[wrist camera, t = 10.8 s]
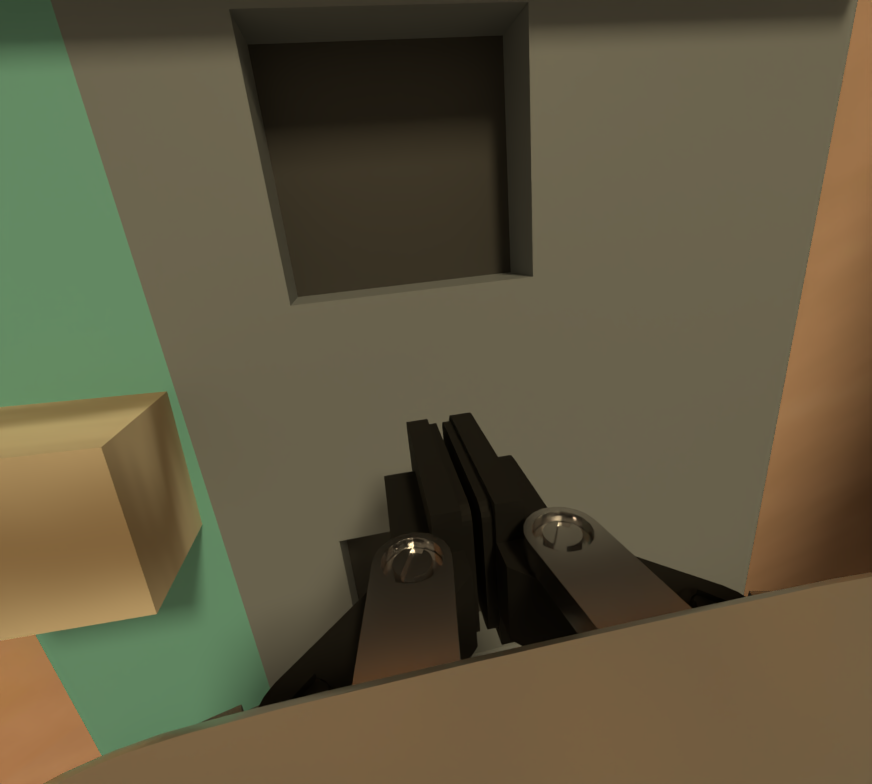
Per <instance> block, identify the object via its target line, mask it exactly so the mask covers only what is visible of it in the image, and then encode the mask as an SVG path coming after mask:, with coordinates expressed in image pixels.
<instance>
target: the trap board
mask: <svg viewBox="0 0 872 784" xmlns="http://www.w3.org/2000/svg"><path fill="white" fill-rule="evenodd" d="M857 2H858V0H0V407H6V406H17V405H28V404H38V403H49V402H59V401H70V400H81V399H91V398H102V397H112V396H123V395H134V394H144V393H155V392H165V391H167V393H168V396H169V400H170V404H171V408H172V411H173V415H174V419H175V423H176V427H177V430H178V434H179V438H180V442H181V446H182V449H183V453H184V457H185V461H186V464H187V468H188V472H189V476H190V480H191V483H192V487H193V491H194V495H195V498H196V502H197V506H198V510H199V514H200V517H201V521H202V526H201V528H200V530H199V532H198V534H197V536H196V538H195V540H194V542H193V544H192V546H191V548H190V550H189V552H188V554H187V556H186V558H185V560H184V562H183V563H182V565H181V567H180V569H179V571H178V573H177V575H176V577H175V579H174V581H173V583H172V585H171V587H170V589H169V591H168V593H167V595H166V597H165V599H164V601H163V603H162V605H161V607H160V609H159V611H158V613H157V614H154V615H148V616H143V617H137V618H131V619H125V620H119V621H113V622H107V623H101V624H95V625H90V626H84V627H78V628H72V629H66V630H60V631H54V632H48V633H42V634H37V635H36V637H37V639H38V640H39V642H40V644H41V646H42V648H43V650H44V651H45V653H46V655H47V657H48V659H49V660H50V662H51V664H52V666H53V668H54V670H55V671H56V673H57V675H58V677H59V679H60V680H61V682H62V684H63V686H64V688H65V690H66V691H67V693H68V695H69V697H70V699H71V700H72V702H73V704H74V706H75V708H76V710H77V711H78V713H79V715H80V717H81V719H82V721H83V722H84V724H85V726H86V728H87V730H88V731H89V733H90V735H91V737H92V739H93V741H94V742H95V744H96V746H97V748H98V750H99V751H100V753H101V755H102V756H103V755H105V754H107V753H110V752H112V751H114V750H117V749H120V748H123V747H125V746H128V745H131V744H134V743H137V742H139V741H142V740H145V739H148V738H151V737H153V736H156V735H159V734H162V733H165V732H169V731H172V730H176V729H180V728H183V727H187V726H191V725H194V724H197V723H200V722H202V721H204V720H207V719H209V718H211V717H213V716H216V715H218V714H220V713H223V712H225V711H227V710H229V709H232V708H234V707H236V706H239V705H241V704H242V707H243V710H244V711H246V710H249V709H251V708H254V707H256V706H258V705H260V703H261V701H262V699H263V697H264V696H265V694H266V693H267V692H268V691H269V689H270V688H271V687H272V686H273V685H274V683H275V682H276V681H277V680H278V679H279V678H280V677H281V676H282V675H283V674H284V673H285V672H286V671H287V670H288V669H289V668H291V667H292V666H293V665H294V664H295V663H296V662H297V661H298V660H299V659H300V658H301V657H302V656H303V655H304V654H305V653H306V652H307V651H308V650H309V649H310V648H311V647H312V646H313V645H314V644H315V643H316V642H317V641H318V640H319V639H320V638H321V637H322V636H323V635H324V634H325V633H326V632H327V631H328V630H329V629H330V628H331V627H332V626H333V625H334V624H335V623H336V622H337V621H338V620H339V619H340V618H341V617H342V616H343V615H344V614H345V613H346V612H347V611H348V610H349V609H350V608H351V607H352V606H353V605H354V604H355V603H356V602H357V601H358V600H359V599H361V598H362V597H363V596H364V595H365V594H366V593H367V590H368V584H369V577H370V571H371V565H372V561H373V558H374V556H375V553H376V552H377V551H378V550H379V548H380V547H381V546H382V545H383V544H385V543H386V542H388V541H389V540H390V539H391V536H390V527H389V518H388V509H387V499H386V490H385V481H384V476H387V475H393V474H399V473H405V472H411V471H412V466H411V458H410V450H409V442H408V434H407V426H406V422H410V421H417V420H423V419H427V420H428V422H429V424H433V423H436V424H437V426H438V428H439V431H440V433H441V436H442V438H443V431H442V422H446V421H449V416H450V415H456V414H462V413H469V412H470V413H471V414H472V415H473V417H474V419H475V420H476V422H477V423H478V425H479V427H480V428H481V430H482V432H483V433H484V435H485V436H486V438H487V440H488V441H489V443H490V445H491V446H492V448H493V449H494V451H495V453H496V454H497V456H498V457H500V456H506V455H512V457H513V458H514V459H515V460H516V462H517V463H518V465H519V466H520V468H521V469H522V471H523V472H524V474H525V475H526V477H527V478H528V479H529V481H530V482H531V484H532V485H533V487H534V488H535V490H536V491H537V493H538V494H539V496H540V497H541V499H542V500H543V502H544V503H545V504H546V506H547V507H548V508H549V507H567V508H572V509H576V510H579V511H581V512H584V513H586V514H588V515H589V516H591V517H592V518H593V519H595V520H596V521H597V522H598V523H599V524H601V525H602V526H603V527H604V528H605V529H606V530H607V531H608V532H609V533H610V534H611V535H613V536H614V537H615V538H616V539H617V540H618V541H619V542H620V543H621V544H622V545H623V546H625V547H626V548H627V549H628V550H629V551H630V552H631V553H632V554H633V555H634V556H636V557H639V558H642V559H645V560H648V561H651V562H654V563H657V564H660V565H663V566H666V567H669V568H672V569H675V570H678V571H681V572H684V573H687V574H690V575H693V576H696V577H699V578H702V579H705V580H709V581H712V582H715V583H718V584H721V585H723V586H726V587H728V588H730V589H733V590H735V591H737V592H739V593H741V594H742V595H744V590H745V585H746V580H747V575H748V569H749V564H750V559H751V554H752V549H753V543H754V538H755V533H756V528H757V522H758V517H759V512H760V507H761V502H762V496H763V491H764V486H765V481H766V476H767V470H768V465H769V460H770V455H771V450H772V444H773V439H774V434H775V429H776V424H777V418H778V413H779V408H780V403H781V397H782V392H783V387H784V382H785V377H786V371H787V366H788V361H789V356H790V351H791V345H792V340H793V335H794V330H795V325H796V319H797V314H798V309H799V304H800V299H801V293H802V288H803V283H804V278H805V272H806V267H807V262H808V257H809V252H810V246H811V241H812V236H813V231H814V226H815V220H816V215H817V210H818V205H819V200H820V194H821V189H822V184H823V179H824V174H825V168H826V163H827V158H828V153H829V147H830V142H831V137H832V132H833V127H834V121H835V116H836V111H837V106H838V101H839V95H840V90H841V85H842V80H843V75H844V69H845V64H846V59H847V54H848V49H849V43H850V38H851V33H852V28H853V22H854V17H855V12H856V7H857ZM478 605H479V603H478ZM479 619H480V631H479V632H477V643H478V647H477V649H476V650H475V652H474V653H473V655H472V656H471V658H472V657H476V656H481V655H485V654H490V653H494V652H499V651H503V650H508V649H512V648H516V647H521V645H519V644H517V643H515V642H513V643H508V644H504V645H501V642H500V639H499V636H498V633H497V630H496V628H493V629H487V627H486V625H485V622H484V619H483V616H482V613H481V610H480V607H479Z"/></svg>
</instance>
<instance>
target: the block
mask: <svg viewBox="0 0 872 784" xmlns="http://www.w3.org/2000/svg"><path fill="white" fill-rule="evenodd" d="M201 526H202V521H201V517H200V514H199V510H198V506H197V502H196V498H195V495H194V491H193V487H192V483H191V480H190V476H189V472H188V468H187V464H186V461H185V457H184V453H183V449H182V446H181V442H180V438H179V434H178V430H177V427H176V423H175V419H174V415H173V411H172V408H171V404H170V400H169V396H168V393H167V391H165V392H155V393H144V394H134V395H123V396H112V397H102V398H91V399H81V400H70V401H59V402H49V403H38V404H28V405H17V406H6V407H0V641H1V640H7V639H13V638H19V637H25V636H31V635H37V634H42V633H48V632H54V631H60V630H66V629H72V628H78V627H84V626H90V625H95V624H101V623H107V622H113V621H119V620H125V619H131V618H137V617H143V616H148V615H154V614H157V613H158V611H159V609H160V607H161V605H162V603H163V601H164V599H165V597H166V595H167V593H168V591H169V589H170V587H171V585H172V583H173V581H174V579H175V577H176V575H177V573H178V571H179V569H180V567H181V565H182V563H183V562H184V560H185V558H186V556H187V554H188V552H189V550H190V548H191V546H192V544H193V542H194V540H195V538H196V536H197V534H198V532H199V530H200V528H201Z"/></svg>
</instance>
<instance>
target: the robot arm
mask: <svg viewBox="0 0 872 784" xmlns="http://www.w3.org/2000/svg"><path fill="white" fill-rule="evenodd" d="M406 426H407V434H408V442H409V450H410V458H411V466H412V471H411V472H405V473H399V474H393V475H387V476H384V481H385V490H386V499H387V509H388V518H389V527H390V536H391V539H390V540H389V541H388V542H386V543H385V544H383V545H382V546H381V547H380V548H379V550H378V551H377V552H376V553H375V556H374V558H373V561H372V565H371V571H370V577H369V584H368V590H367V593H366V594H365V595H364V596H363V597H362V598H361V599H359V600H358V601H357V602H356V603H355V604H354V605H353V606H352V607H351V608H350V609H349V610H348V611H347V612H346V613H345V614H344V615H343V616H342V617H341V618H340V619H339V620H338V621H337V622H336V623H335V624H334V625H333V626H332V627H331V628H330V629H329V630H328V631H327V632H326V633H325V634H324V635H323V636H322V637H321V638H320V639H319V640H318V641H317V642H316V643H315V644H314V645H313V646H312V647H311V648H310V649H309V650H308V651H307V652H306V653H305V654H304V655H303V656H302V657H301V658H300V659H299V660H298V661H297V662H296V663H295V664H294V665H293V666H292V667H291V668H289V669H288V670H287V671H286V672H285V673H284V674H283V675H282V676H281V677H280V678H279V679H278V680H277V681H276V682H275V683H274V685H273V686H272V687H271V688H270V689H269V691H268V692H267V693H266V694H265V696H264V697H263V699H262V701H261V703H260V705H258V706H256V707H254V708H251V709H249V710H246V711H244V710H243V707H242V704H241V705H239V706H236V707H234V708H232V709H229V710H227V711H225V712H223V713H220V714H218V715H216V716H213V717H211V718H209V719H207V720H204V721H202V722H200V723H197V724H194V725H191V726H187V727H183V728H180V729H176V730H172V731H169V732H165V733H162V734H159V735H156V736H153V737H151V738H148V739H145V740H142V741H139V742H137V743H134V744H131V745H128V746H125V747H123V748H120V749H117V750H114V751H112V752H110V753H107V754H105V755H103V756H101V757H98V758H96V759H94V760H92V761H89V762H87V763H85V764H83V765H80V766H78V767H76V768H74V769H71V770H69V771H67V772H65V773H62V774H60V775H59V776H57V777H55V778H53V779H51V780H49V781H48V782H46V783H44V784H872V572H869V573H863V574H857V575H851V576H846V577H840V578H834V579H829V580H824V581H819V582H815V583H810V584H805V585H800V586H796V587H791V588H786V589H781V590H776V591H749V594H748V596H747V597H745V596H744V595H742V594H741V593H739V592H737V591H735V590H733V589H730V588H728V587H726V586H723V585H721V584H718V583H715V582H712V581H709V580H705V579H702V578H699V577H696V576H693V575H690V574H687V573H684V572H681V571H678V570H675V569H672V568H669V567H666V566H663V565H660V564H657V563H654V562H651V561H648V560H645V559H642V558H639V557H636V556H634V555H633V554H632V553H631V552H630V551H629V550H628V549H627V548H626V547H625V546H623V545H622V544H621V543H620V542H619V541H618V540H617V539H616V538H615V537H614V536H613V535H611V534H610V533H609V532H608V531H607V530H606V529H605V528H604V527H603V526H602V525H601V524H599V523H598V522H597V521H596V520H595V519H593V518H592V517H591V516H589V515H588V514H586V513H584V512H581V511H579V510H576V509H572V508H567V507H549V508H548V507H547V506H546V504H545V503H544V502H543V500H542V499H541V497H540V496H539V494H538V493H537V491H536V490H535V488H534V487H533V485H532V484H531V482H530V481H529V479H528V478H527V477H526V475H525V474H524V472H523V471H522V469H521V468H520V466H519V465H518V463H517V462H516V460H515V459H514V458H513V457H512V455H506V456H500V457H498V456H497V454H496V453H495V451H494V449H493V448H492V446H491V445H490V443H489V441H488V440H487V438H486V436H485V435H484V433H483V432H482V430H481V428H480V427H479V425H478V423H477V422H476V420H475V419H474V417H473V415H472V414H471V413H470V412H469V413H462V414H456V415H450V416H449V421H446V422H442V431H443V438H442V436H441V433H440V431H439V428H438V426H437V424H436V423H433V424H429V422H428V420H427V419H423V420H417V421H410V422H406ZM478 603H479V605H478ZM479 607H480V610H481V613H482V616H483V619H484V622H485V625H486V627H487V629H493V628H496V630H497V633H498V636H499V639H500V642H501V645H504V644H508V643H513V642H515V643H517V644H519V645H521V647H516V648H512V649H508V650H503V651H499V652H494V653H490V654H485V655H481V656H476V657H472V658H471V656H472V655H473V653H474V652H475V650H476V649H477V647H478V643H477V632H479V631H480V619H479Z"/></svg>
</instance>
